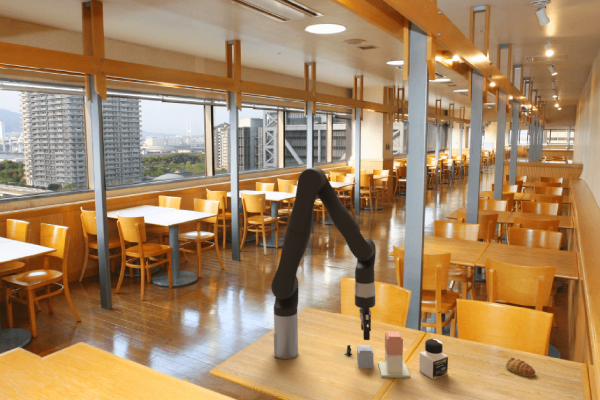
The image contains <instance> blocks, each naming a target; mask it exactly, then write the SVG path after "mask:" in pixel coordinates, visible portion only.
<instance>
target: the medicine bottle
mask: <svg viewBox="0 0 600 400" xmlns="http://www.w3.org/2000/svg"><path fill="white" fill-rule="evenodd" d="M443 348H444V344H443V342H442V341H441V340H438V339H435V338H429V339H426V340H425V344H424V351H421V352H419V365H418V366H419V368H418V369H419V371H420V373H423V374H424V375H426V376H427V377H429V378H430V379H432V380H435V379H437V378H441V377H444V376H446V375H448V370H449V369H448V368H449V367H448V366H449V355H448V354H446V353H444V352H443V351H444V349H443Z"/></svg>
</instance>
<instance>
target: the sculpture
mask: <svg viewBox="0 0 600 400" xmlns="http://www.w3.org/2000/svg"><path fill="white" fill-rule="evenodd" d="M346 348H347V349H346V352H345V353H344V354H343V356H345V357H347V358H350V357H351V356H353V353H351V351H352V348H351V345H350V344H348V345H347V346H346Z"/></svg>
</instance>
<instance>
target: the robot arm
mask: <svg viewBox="0 0 600 400" xmlns="http://www.w3.org/2000/svg"><path fill="white" fill-rule="evenodd" d="M317 198H318V199H319V200H320V202H321V204H322V205H323V206H324V207H325V210H326V212H327V213H328V215H329V218H330V219H331V220H330V221H332V223H333V225H334V226H335V228H336V230H337V231H338V232H339V233H340V235H341V236H342V237H343V238H344V240H345V243H346V244H347V247H348V248H349V250H350V252H351V254H352V256H354V257H355V259H356V261H357V262H356V266H355V270H354V305H355V306H356V307H357V308H359V309H358V310H359V311H358V313H359V318H360V329H361V331H363V335H362V337H363V340H364V341H370V339H371V337H370V336H371V335H370V334H371V331H372V326H371V324H372V311H371V308H374V307H375V306H376V284H375V283H376V282H375V264H376V263H375V262H376V253H377V249H376V248H377V247H376V244H375V242H374V241H373V240H372V239H371V238H368V237H364V236H363V234H362V233H361V228H360V225H359V224H358V222H356V220H355V218H354V217H353V215H352V214H351V213H350V211H348V208H346V206H345V205H344V204H343V202H342V201H341V199H340V198H339V196H338V195H337V193H336V191H335V190H334V188H333V186H332V184H331V182H330V181H329V179H328V176H327V175H326V173H325V171H323V169H321V168H320V167H309V168H305V169H304V170H302V171H301V172H300V174H299V176H298V180H297V184H296V191H295V197H294V203H293V206H292V209H291V213H290V216H289V219H288V223H287V227H286V230H285V233H284V237H283V243H282V246H281V247H282V248H281V253H280V258H279V263H278V266H277V268H276V271H275V273H274V276H273V279H272V282H271V285H270V287H271V292H272V294H273V297H275V298H274V304H273V323H274V324H273V327H274V330H273V354H274V356H273V357H274V358H279V359H282V360H290V359H294V358H296V357H297V356H298V355H299V331H298V329H299V327H298V325H299V323H298V308H299V307H298V305H299V280H298V276H297V272H298V268H299V266H300V263H301V261H302V259H303V257H304V254H305V252H306V249H307V247H308V245H309V242H310V239H311V238H310V237H311V235H312V234H311V233H312V228H313V210H314V205H315V203H316V199H317Z"/></svg>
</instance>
